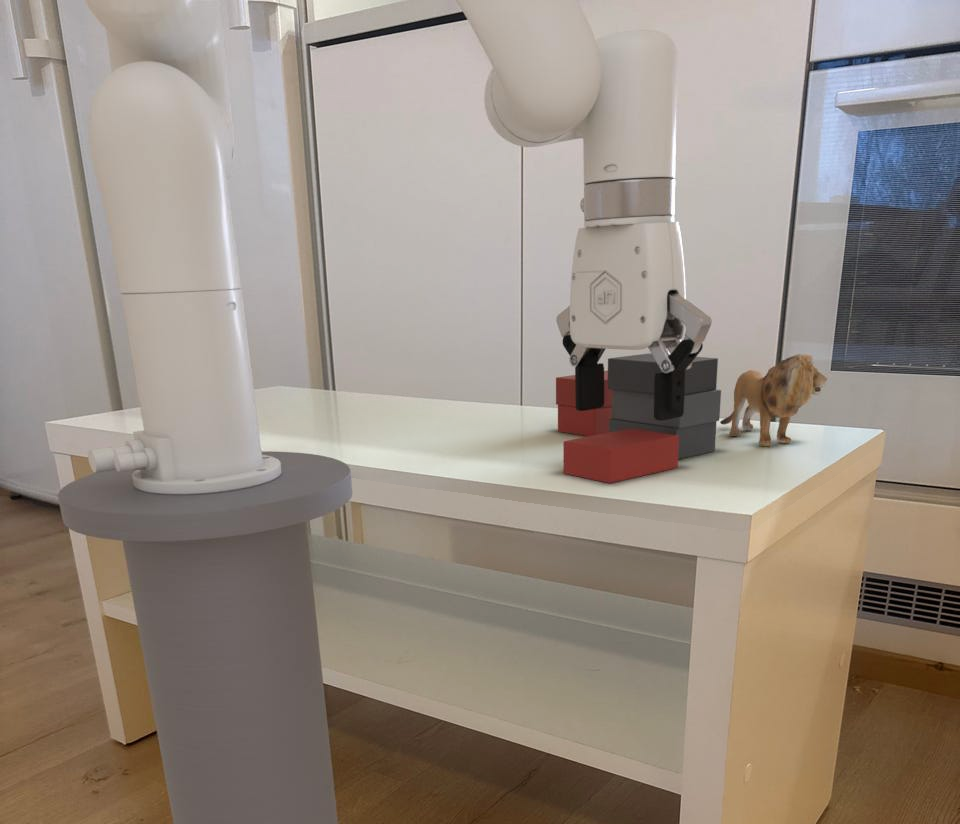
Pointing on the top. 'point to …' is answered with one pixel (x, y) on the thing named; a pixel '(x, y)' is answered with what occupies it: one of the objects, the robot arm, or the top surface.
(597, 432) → the red blocks
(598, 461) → the red rectangular block
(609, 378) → the grey blocks
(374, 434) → the top surface
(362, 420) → the top surface
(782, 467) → the top surface
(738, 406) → the lion figurine
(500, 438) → the top surface
